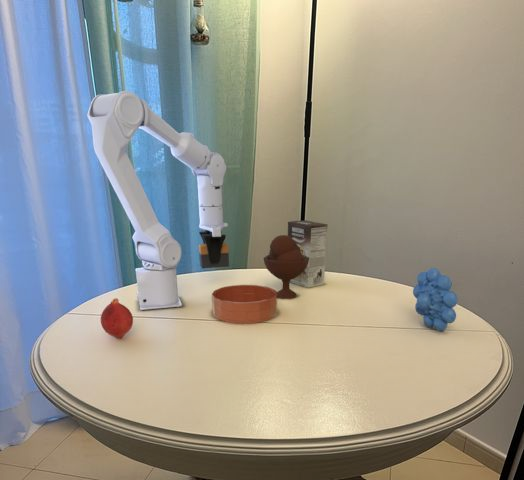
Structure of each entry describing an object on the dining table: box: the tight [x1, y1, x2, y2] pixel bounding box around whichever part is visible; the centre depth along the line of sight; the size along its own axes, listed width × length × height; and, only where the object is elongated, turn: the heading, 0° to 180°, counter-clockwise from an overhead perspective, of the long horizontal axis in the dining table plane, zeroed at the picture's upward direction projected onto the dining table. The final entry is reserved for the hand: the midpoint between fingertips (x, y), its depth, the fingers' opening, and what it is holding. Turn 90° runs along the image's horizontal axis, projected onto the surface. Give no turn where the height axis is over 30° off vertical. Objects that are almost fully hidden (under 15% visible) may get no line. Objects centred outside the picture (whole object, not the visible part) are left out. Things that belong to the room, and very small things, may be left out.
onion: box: [100, 297, 134, 339], centre depth 86 cm, size 6×6×8 cm
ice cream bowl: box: [263, 234, 309, 300], centre depth 110 cm, size 11×11×15 cm
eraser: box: [198, 242, 230, 269], centre depth 116 cm, size 7×4×6 cm, turn 105°
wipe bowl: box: [211, 284, 278, 325], centre depth 100 cm, size 14×14×4 cm
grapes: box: [412, 267, 459, 332], centre depth 90 cm, size 12×7×12 cm, turn 23°
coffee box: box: [287, 220, 329, 288], centre depth 121 cm, size 9×6×16 cm
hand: (213, 261), depth 116 cm, fingers closed on eraser, 3 cm apart
